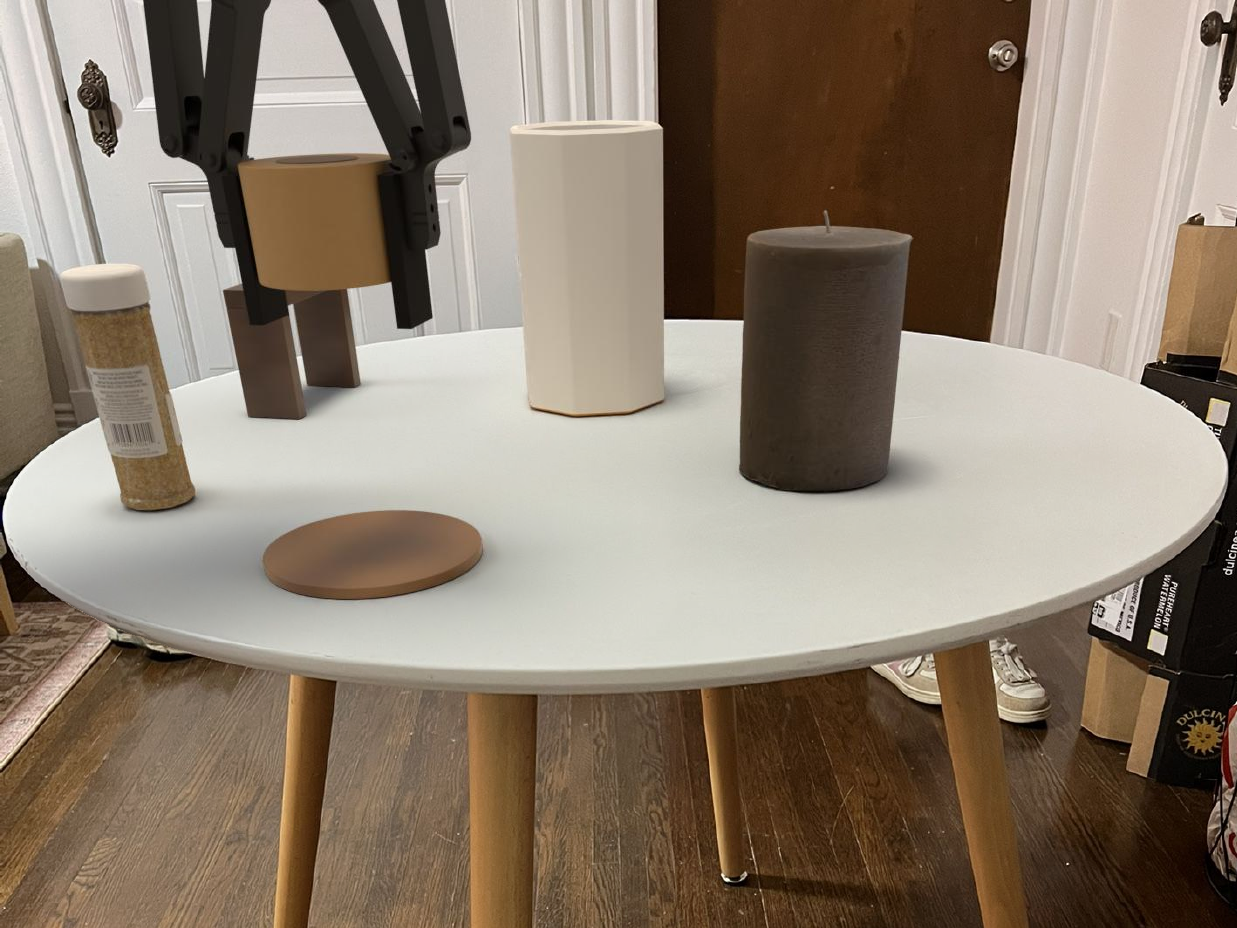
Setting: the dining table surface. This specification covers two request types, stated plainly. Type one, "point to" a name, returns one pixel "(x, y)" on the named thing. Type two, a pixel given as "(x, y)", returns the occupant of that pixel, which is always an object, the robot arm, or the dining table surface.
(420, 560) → the cork mat
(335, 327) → the brown arch block
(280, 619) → the dining table surface
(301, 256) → the tape roll
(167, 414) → the spice jar
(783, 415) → the pillar candle
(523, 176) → the cream faceted vase
